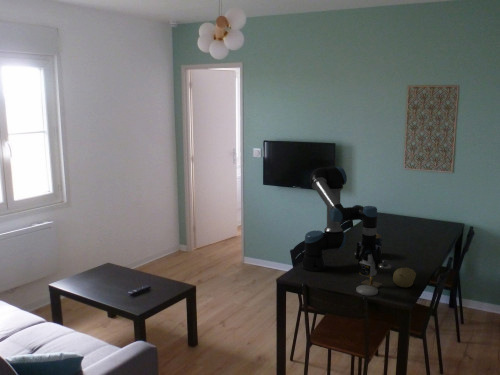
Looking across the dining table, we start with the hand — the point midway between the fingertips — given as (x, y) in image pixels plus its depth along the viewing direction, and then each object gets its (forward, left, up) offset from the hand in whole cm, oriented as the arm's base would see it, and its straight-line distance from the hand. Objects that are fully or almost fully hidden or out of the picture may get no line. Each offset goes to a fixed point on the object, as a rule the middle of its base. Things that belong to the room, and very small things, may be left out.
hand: (367, 273), depth 263 cm
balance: (-2, +10, -11) cm, 15 cm away
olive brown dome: (+13, +21, -11) cm, 27 cm away
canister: (-24, +58, -11) cm, 64 cm away
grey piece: (0, 0, -1) cm, 1 cm away
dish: (0, 0, -11) cm, 11 cm away
